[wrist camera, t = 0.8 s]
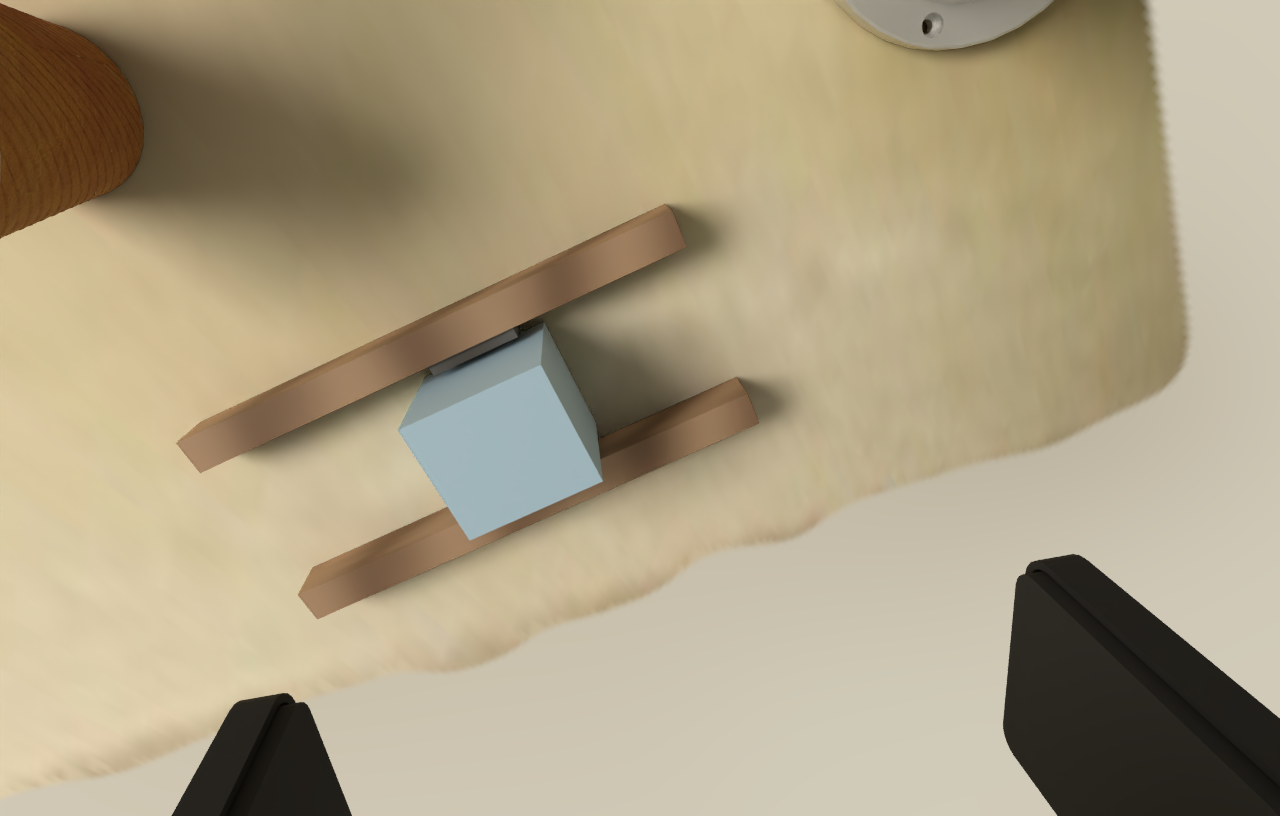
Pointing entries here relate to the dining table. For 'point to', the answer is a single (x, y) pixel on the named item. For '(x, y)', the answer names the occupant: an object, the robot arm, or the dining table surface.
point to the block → (504, 433)
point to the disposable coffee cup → (59, 121)
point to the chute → (446, 346)
